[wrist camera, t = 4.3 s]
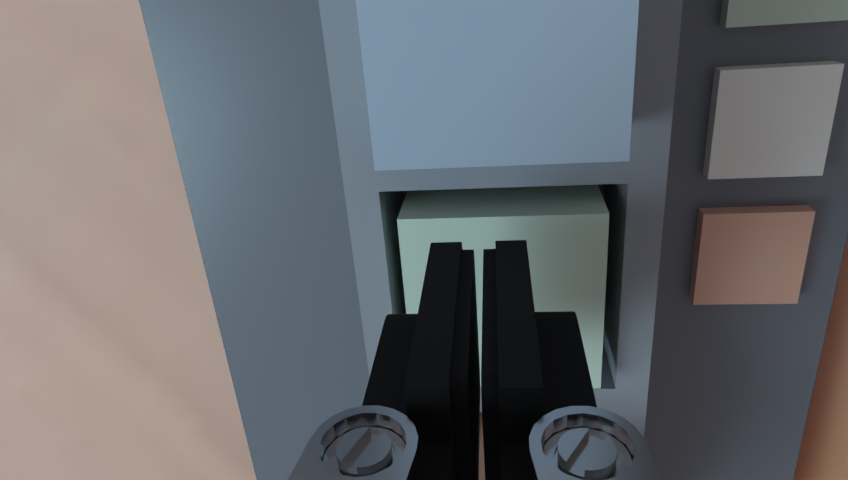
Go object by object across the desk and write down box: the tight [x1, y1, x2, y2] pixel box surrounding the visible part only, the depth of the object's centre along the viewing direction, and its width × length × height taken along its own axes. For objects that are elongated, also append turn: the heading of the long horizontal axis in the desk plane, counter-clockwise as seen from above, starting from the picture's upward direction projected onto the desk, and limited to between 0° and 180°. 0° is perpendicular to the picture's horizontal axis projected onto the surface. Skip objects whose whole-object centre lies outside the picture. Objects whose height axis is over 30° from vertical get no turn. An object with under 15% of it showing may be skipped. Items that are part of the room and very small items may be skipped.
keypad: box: [139, 0, 848, 480], centre depth 14 cm, size 24×16×4 cm, turn 5°
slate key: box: [356, 0, 639, 171], centre depth 11 cm, size 4×4×3 cm
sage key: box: [397, 184, 610, 388], centre depth 14 cm, size 4×4×3 cm
